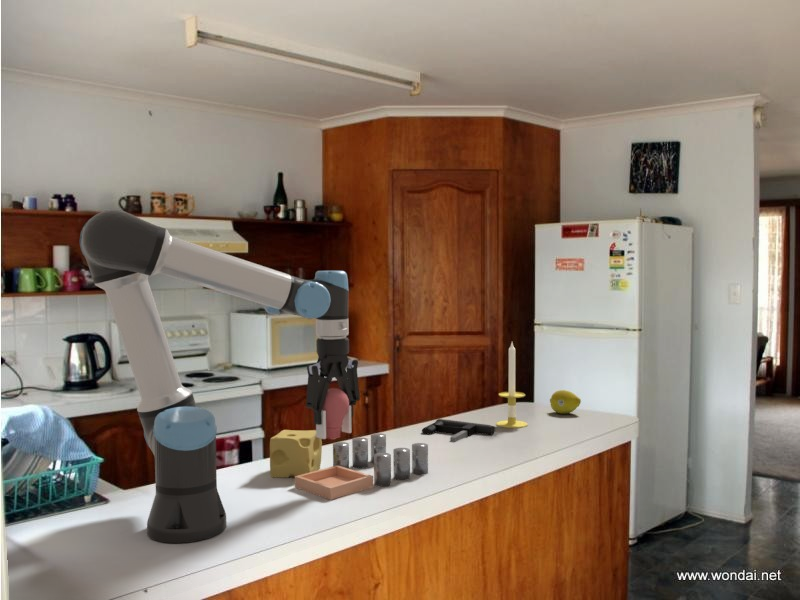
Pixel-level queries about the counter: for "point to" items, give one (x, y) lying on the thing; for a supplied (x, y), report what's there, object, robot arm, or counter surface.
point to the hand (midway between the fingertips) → (334, 434)
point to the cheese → (294, 453)
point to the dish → (333, 482)
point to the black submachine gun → (458, 429)
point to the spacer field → (382, 458)
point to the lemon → (564, 402)
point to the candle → (511, 396)
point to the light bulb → (335, 411)
